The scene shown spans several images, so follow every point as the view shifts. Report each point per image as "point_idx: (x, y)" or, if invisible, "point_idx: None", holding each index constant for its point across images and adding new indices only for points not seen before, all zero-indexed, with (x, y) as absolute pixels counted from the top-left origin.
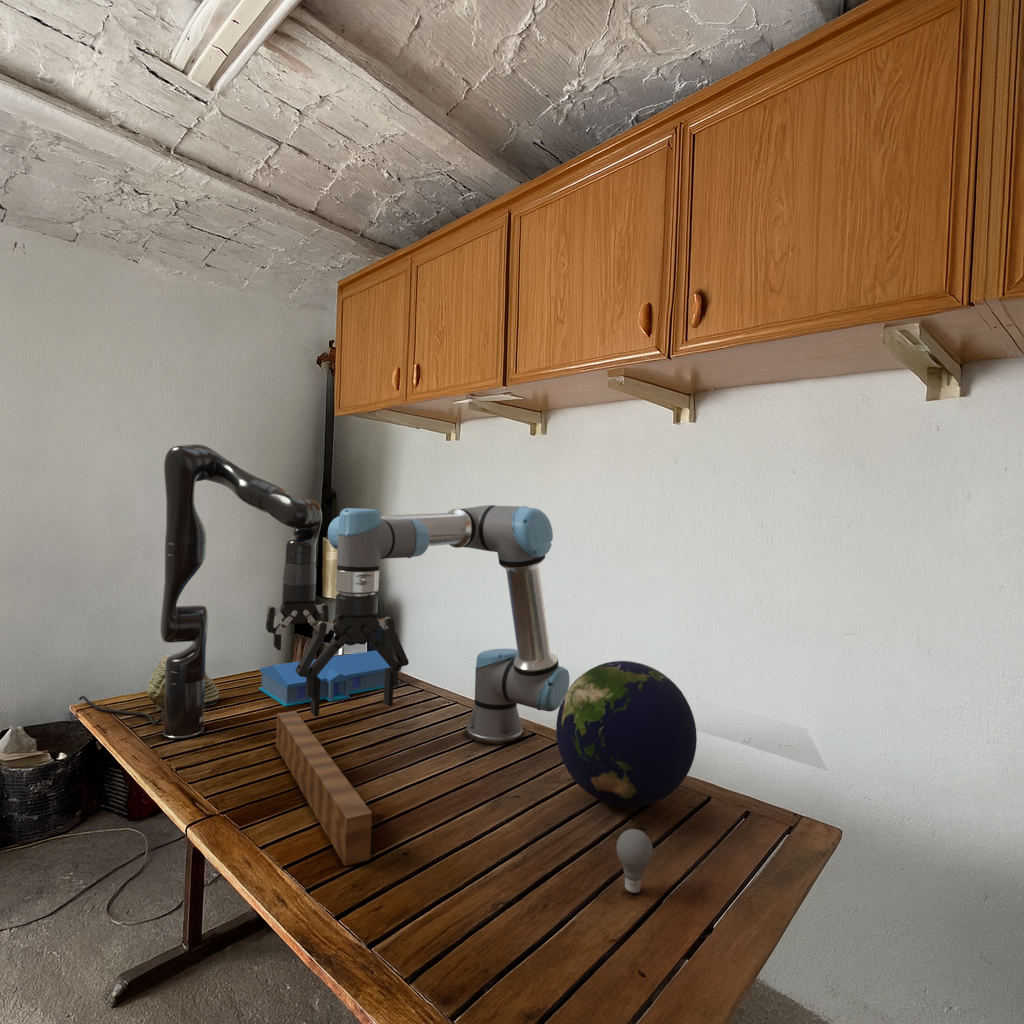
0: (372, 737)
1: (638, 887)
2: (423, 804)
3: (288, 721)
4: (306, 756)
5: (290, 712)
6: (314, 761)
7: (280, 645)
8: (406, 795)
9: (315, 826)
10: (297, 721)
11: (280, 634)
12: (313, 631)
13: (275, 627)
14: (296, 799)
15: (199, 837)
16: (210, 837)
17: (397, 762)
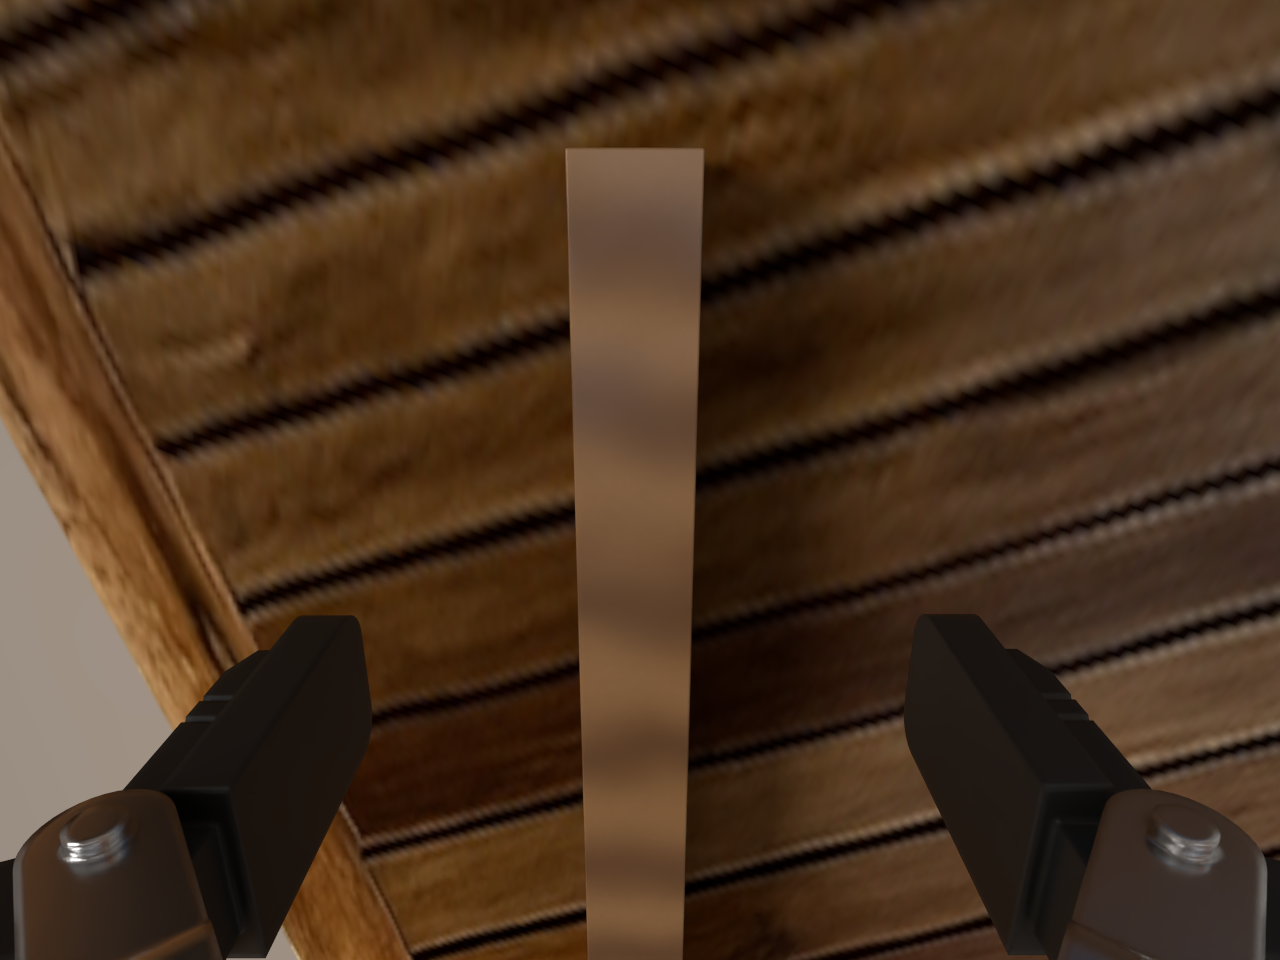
0: (1119, 264)
1: None
2: (942, 934)
3: (606, 363)
4: (588, 859)
5: (660, 173)
6: (608, 915)
7: (336, 791)
8: (926, 867)
9: (582, 921)
10: (661, 386)
11: (245, 914)
12: (1031, 846)
13: (17, 913)
14: (563, 750)
15: None
16: None
17: (1052, 617)
